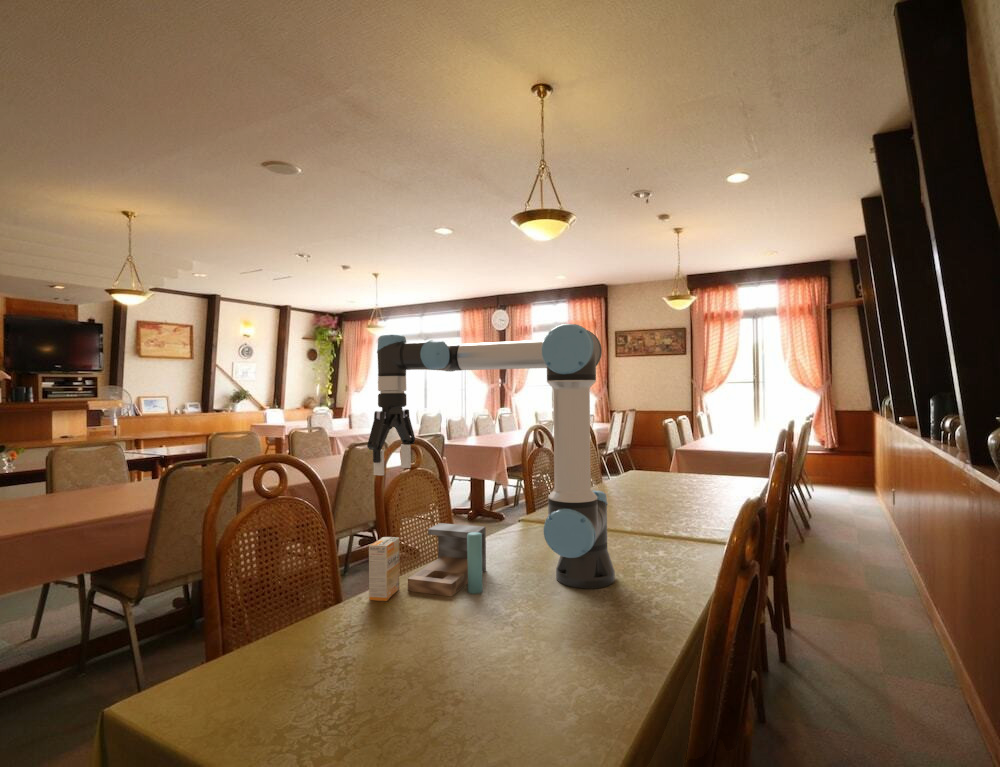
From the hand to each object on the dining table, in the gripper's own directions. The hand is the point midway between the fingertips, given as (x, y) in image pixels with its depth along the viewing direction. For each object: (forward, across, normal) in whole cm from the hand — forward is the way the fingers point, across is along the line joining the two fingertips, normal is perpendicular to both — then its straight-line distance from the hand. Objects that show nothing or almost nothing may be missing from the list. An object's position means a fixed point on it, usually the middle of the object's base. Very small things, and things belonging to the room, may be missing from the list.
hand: (393, 471), depth 147 cm
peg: (+28, +3, +25) cm, 38 cm away
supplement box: (+28, +13, +5) cm, 31 cm away
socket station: (+28, 0, +15) cm, 32 cm away
